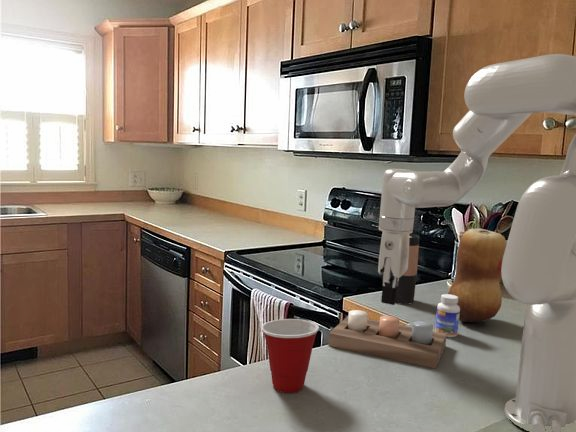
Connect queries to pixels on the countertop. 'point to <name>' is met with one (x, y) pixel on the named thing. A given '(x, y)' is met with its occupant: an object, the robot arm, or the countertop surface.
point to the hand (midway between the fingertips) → (388, 302)
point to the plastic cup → (289, 351)
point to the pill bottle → (448, 315)
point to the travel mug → (409, 273)
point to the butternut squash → (478, 275)
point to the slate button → (422, 333)
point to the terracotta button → (389, 326)
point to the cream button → (357, 321)
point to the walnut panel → (389, 344)
